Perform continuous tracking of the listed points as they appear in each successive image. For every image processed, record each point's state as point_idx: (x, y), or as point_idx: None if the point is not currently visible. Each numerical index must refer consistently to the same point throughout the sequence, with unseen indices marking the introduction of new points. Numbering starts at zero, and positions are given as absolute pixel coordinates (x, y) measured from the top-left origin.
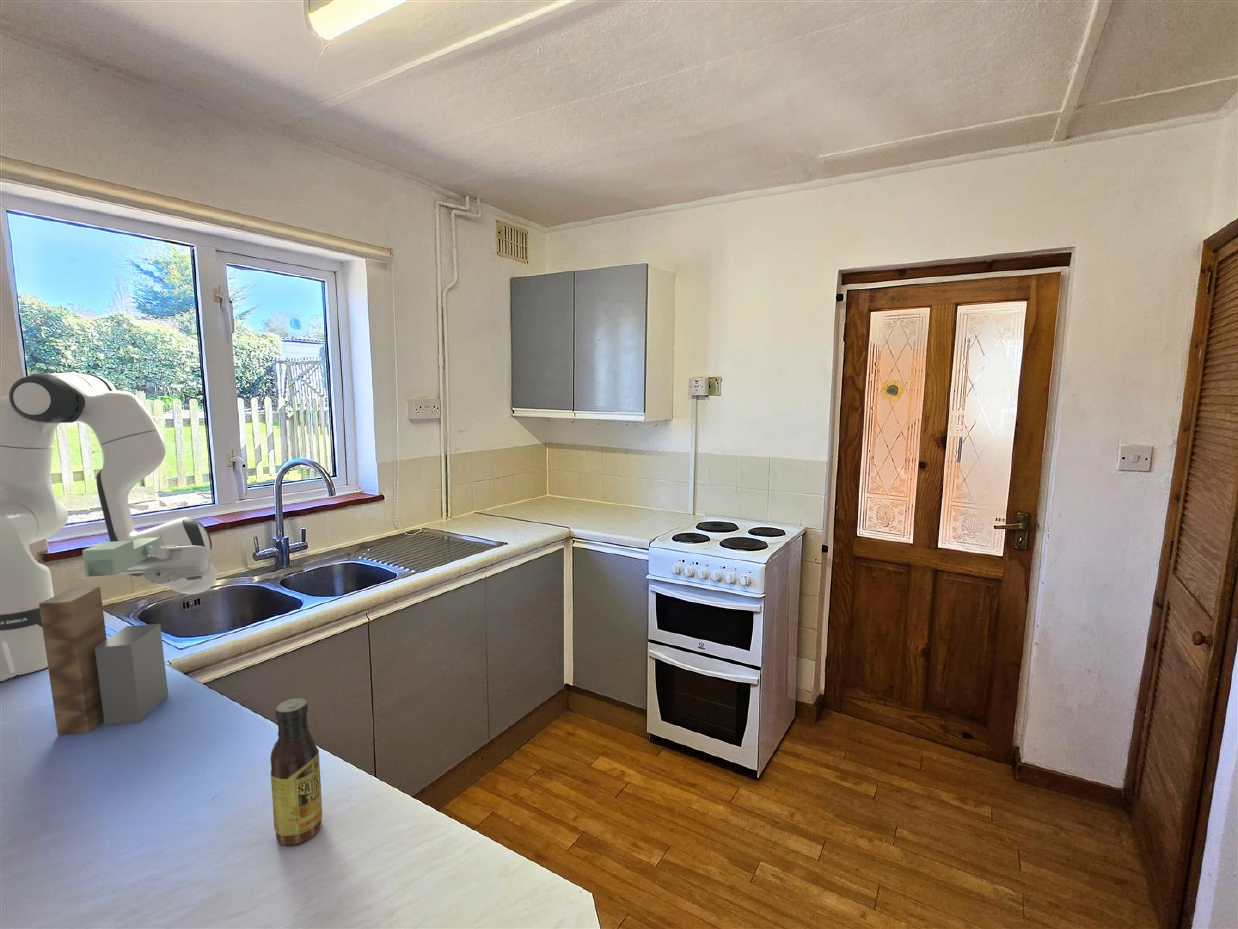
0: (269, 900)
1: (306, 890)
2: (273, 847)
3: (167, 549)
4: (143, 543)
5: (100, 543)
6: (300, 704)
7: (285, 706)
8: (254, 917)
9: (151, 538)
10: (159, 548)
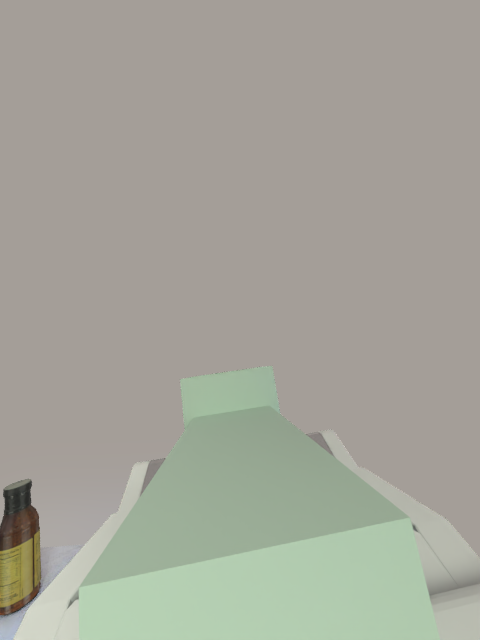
0: (61, 554)
1: (40, 560)
2: (44, 587)
3: (24, 624)
4: (190, 446)
5: (267, 366)
6: (11, 484)
7: (23, 482)
8: (71, 546)
9: (196, 530)
10: (99, 530)
